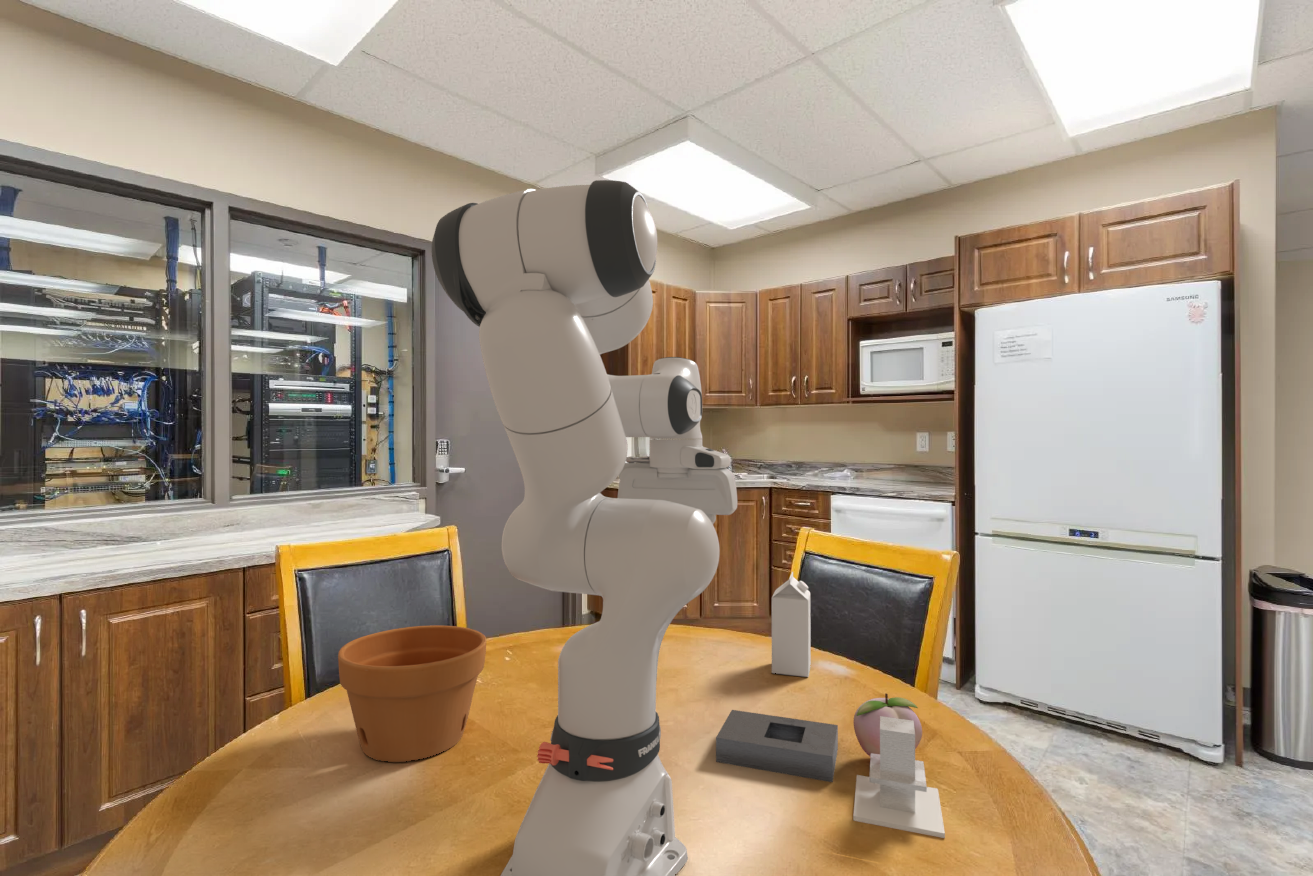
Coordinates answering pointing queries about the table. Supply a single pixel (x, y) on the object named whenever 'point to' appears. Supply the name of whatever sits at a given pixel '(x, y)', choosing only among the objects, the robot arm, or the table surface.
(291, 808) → the table surface
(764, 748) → the post block
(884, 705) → the decorative fruit
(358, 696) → the flower pot
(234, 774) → the table surface
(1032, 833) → the table surface
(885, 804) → the peg
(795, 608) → the milk carton
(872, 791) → the pad
